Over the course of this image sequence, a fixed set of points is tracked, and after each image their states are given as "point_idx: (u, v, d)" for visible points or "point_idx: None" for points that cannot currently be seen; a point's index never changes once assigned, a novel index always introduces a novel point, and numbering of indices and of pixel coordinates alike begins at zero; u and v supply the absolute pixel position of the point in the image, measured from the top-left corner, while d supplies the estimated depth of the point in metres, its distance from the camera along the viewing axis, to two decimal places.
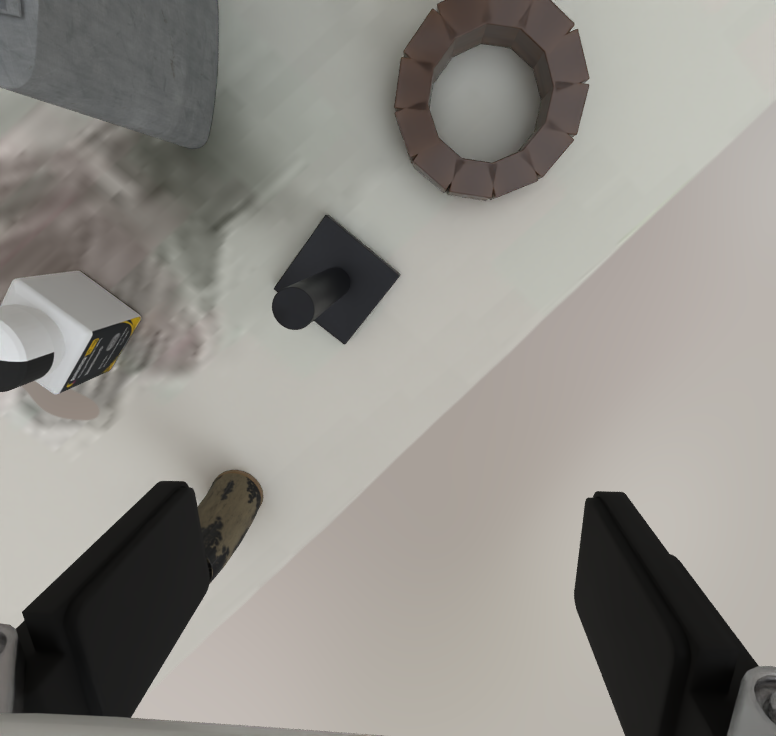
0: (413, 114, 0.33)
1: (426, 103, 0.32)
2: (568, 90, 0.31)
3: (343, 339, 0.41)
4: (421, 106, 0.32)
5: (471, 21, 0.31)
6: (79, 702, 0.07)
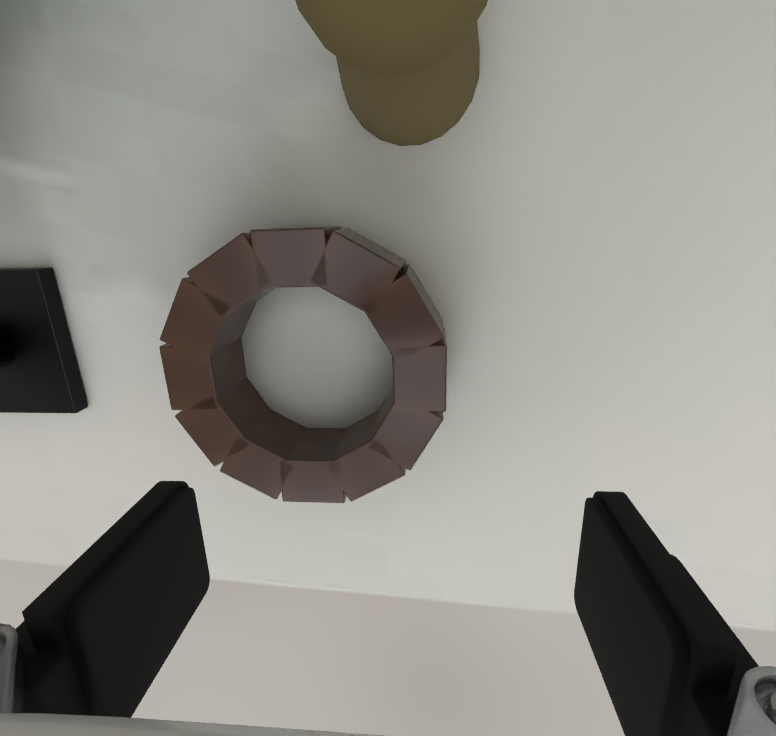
0: (202, 304, 0.20)
1: (226, 310, 0.20)
2: (381, 459, 0.22)
3: None
4: (218, 307, 0.20)
5: (351, 291, 0.19)
6: (79, 702, 0.07)
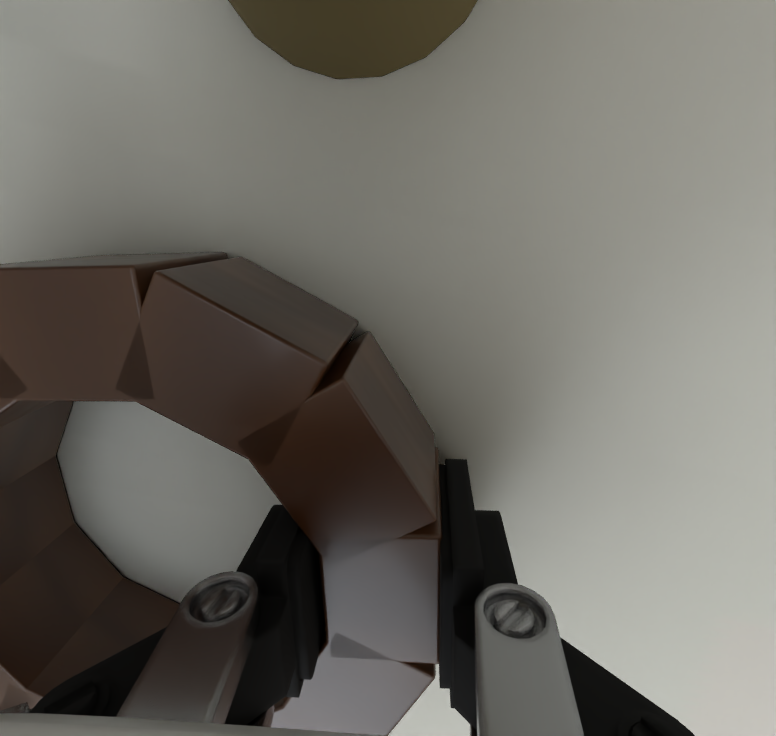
0: None
1: None
2: None
3: None
4: None
5: (213, 414, 0.08)
6: (292, 644, 0.08)
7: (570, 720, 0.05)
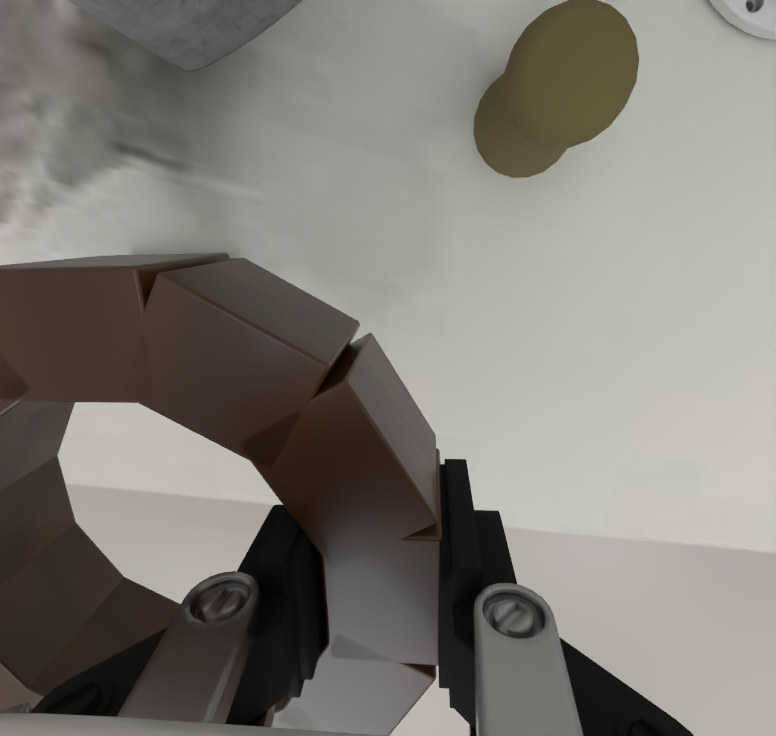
0: None
1: None
2: None
3: None
4: None
5: (216, 416, 0.08)
6: (293, 644, 0.08)
7: (569, 720, 0.05)
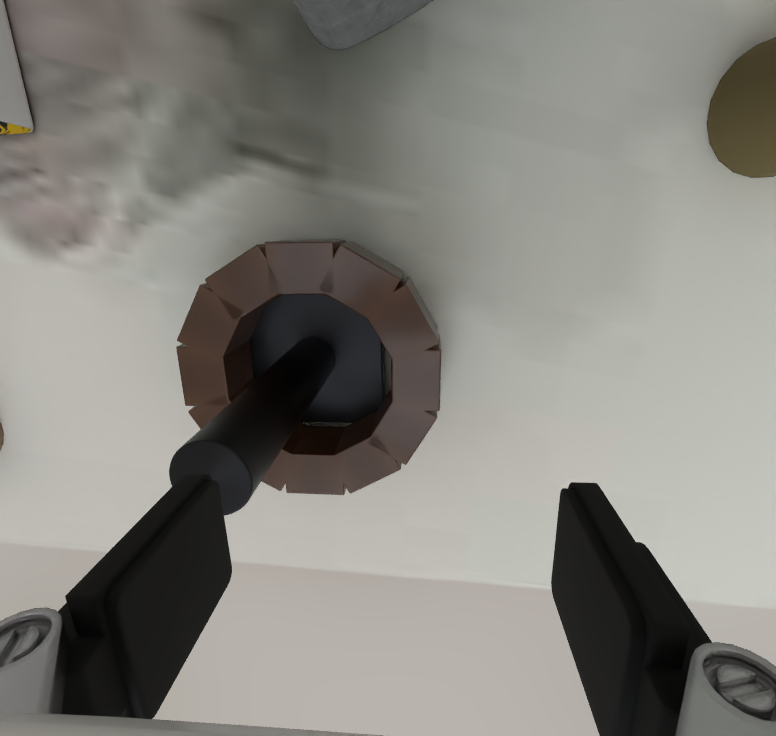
0: (217, 308, 0.22)
1: (240, 314, 0.22)
2: (379, 454, 0.23)
3: None
4: (233, 311, 0.22)
5: (355, 299, 0.21)
6: (118, 684, 0.08)
7: None
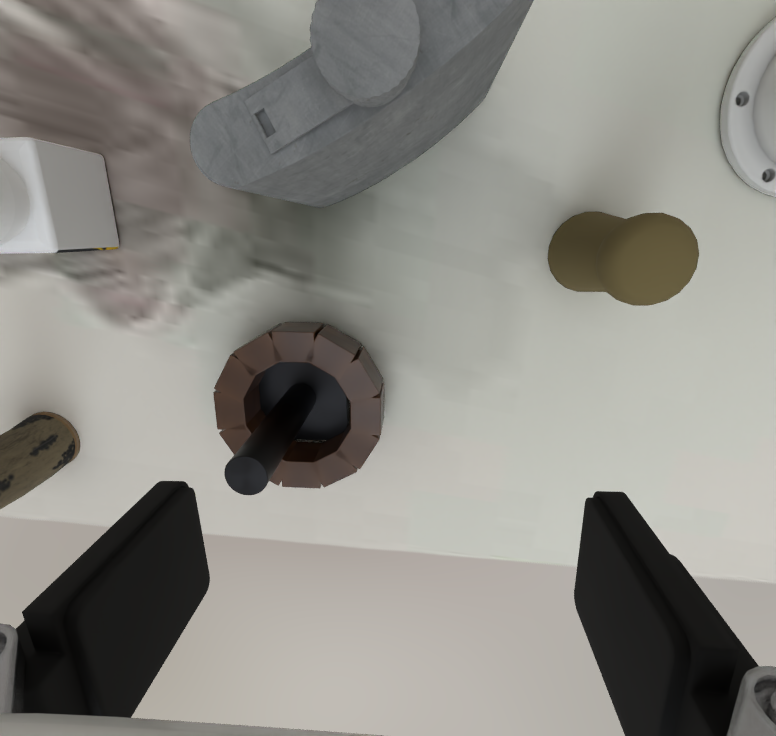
0: (241, 369, 0.35)
1: (255, 373, 0.35)
2: (342, 462, 0.36)
3: None
4: (251, 371, 0.35)
5: (327, 366, 0.34)
6: (80, 703, 0.07)
7: None
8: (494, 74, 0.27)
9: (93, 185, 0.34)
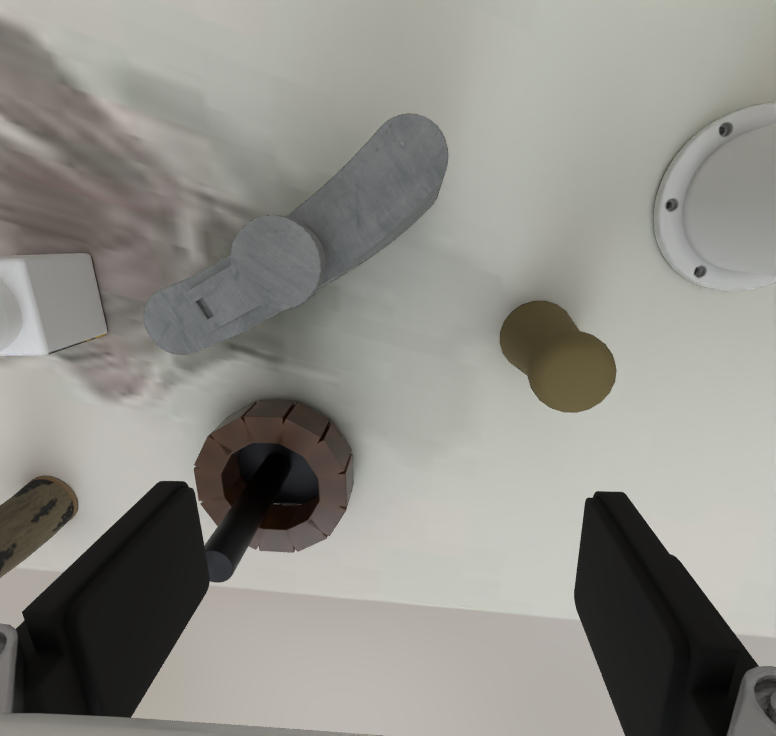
0: (217, 449, 0.38)
1: (230, 452, 0.38)
2: (313, 529, 0.39)
3: None
4: (226, 451, 0.38)
5: (296, 446, 0.37)
6: (80, 702, 0.07)
7: None
8: None
9: (81, 284, 0.37)
